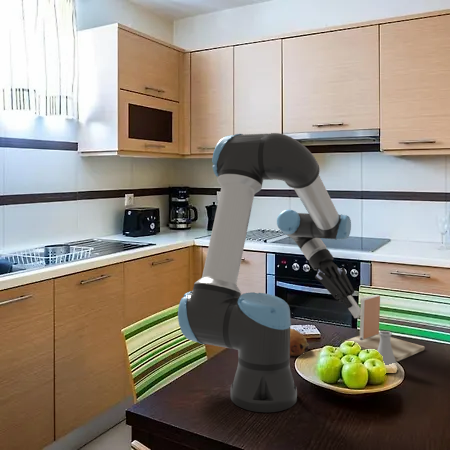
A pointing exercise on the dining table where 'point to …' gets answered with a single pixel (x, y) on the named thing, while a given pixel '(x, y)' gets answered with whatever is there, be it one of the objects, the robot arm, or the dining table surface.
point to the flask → (386, 347)
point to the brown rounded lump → (297, 343)
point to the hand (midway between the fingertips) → (358, 315)
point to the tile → (369, 317)
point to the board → (398, 346)
